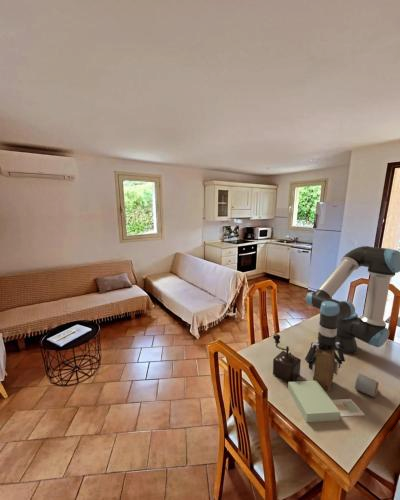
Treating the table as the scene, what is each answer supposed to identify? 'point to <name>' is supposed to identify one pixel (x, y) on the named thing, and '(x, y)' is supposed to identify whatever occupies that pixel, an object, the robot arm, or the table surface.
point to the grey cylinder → (366, 385)
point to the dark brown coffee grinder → (285, 364)
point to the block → (324, 367)
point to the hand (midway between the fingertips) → (323, 374)
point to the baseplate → (313, 401)
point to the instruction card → (347, 407)
